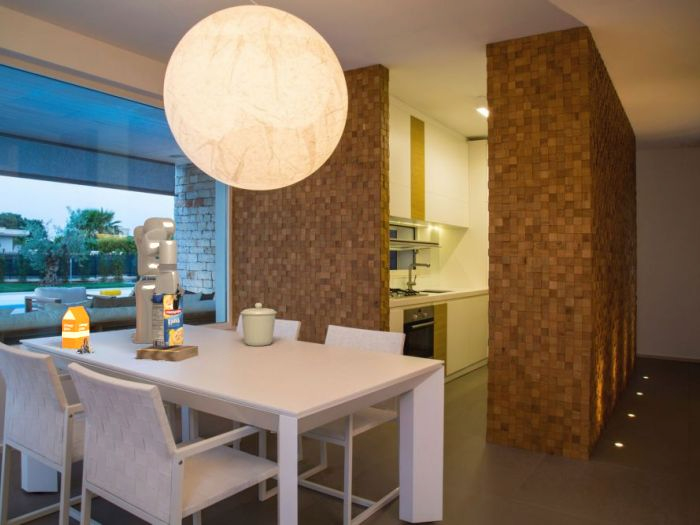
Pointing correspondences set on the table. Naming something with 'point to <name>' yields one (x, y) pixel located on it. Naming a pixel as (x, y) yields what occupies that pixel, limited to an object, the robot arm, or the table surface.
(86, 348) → the house of cards
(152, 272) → the robot arm
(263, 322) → the canister
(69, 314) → the orange juice
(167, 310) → the beverage box
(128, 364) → the table surface
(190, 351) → the tan flat block
